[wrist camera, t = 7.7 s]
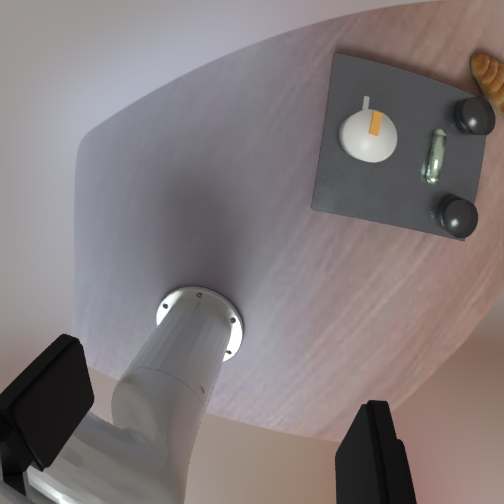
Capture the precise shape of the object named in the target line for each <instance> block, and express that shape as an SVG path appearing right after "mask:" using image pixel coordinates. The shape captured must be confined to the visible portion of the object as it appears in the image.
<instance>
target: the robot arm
mask: <svg viewBox="0 0 504 504" xmlns="http://www.w3.org/2000/svg"><path fill="white" fill-rule="evenodd" d="M200 293H201V294H200ZM156 325H157V328H156V329H155V331H154V332H153V333H152V335H151V336H150V338H149V339H148V340H147V342H146V343H145V345H144V346H143V347H142V349H141V350H140V352H139V353H138V354H137V356H136V357H135V359H134V360H133V361H132V363H131V364H130V366H129V367H128V369H127V370H126V371H125V373H124V374H123V376H122V377H121V379H120V380H119V382H118V383H117V385H116V387H115V389H114V392H113V396H112V402H111V403H112V404H111V408H112V418H113V424H114V425H112V424H110V423H109V422H106V421H105V420H103V419H101V418H100V417H99V416H97V415H95V414H94V413H93V412H91V411H90V408H91V407H92V405H93V403H94V394H93V390H92V386H91V382H90V377H89V373H88V369H87V364H86V359H85V355H84V350H83V346H82V344H80V341H79V339H78V338H75V337H72V336H70V335H67V334H62V335H60V336H59V337H58V338H57V339H56V340H55V341H54V342H53V343H52V344H51V345H50V346H48V348H46V349H45V350H44V351H43V352H42V353H41V354H40V355H39V356H38V357H37V358H36V359H35V360H34V361H33V362H32V363H31V364H30V365H29V366H28V367H27V368H26V369H25V370H24V371H23V372H22V373H21V374H20V375H19V376H18V377H17V378H16V379H15V380H14V381H13V382H12V383H11V384H10V385H9V386H8V387H7V388H6V389H5V390H4V391H3V392H2V393H1V394H0V504H184V501H185V495H186V485H187V477H188V469H189V464H190V459H191V455H192V451H193V447H194V444H195V440H196V437H197V434H198V431H199V428H200V425H201V423H202V419H203V417H204V414H205V411H206V408H207V406H208V403H209V400H210V397H211V394H212V391H213V388H214V386H215V383H216V380H217V377H218V374H219V371H220V368H221V366H222V363H223V362H224V361H226V360H228V359H229V358H231V357H232V356H233V355H234V354H235V353H236V352H237V351H238V349H239V347H240V345H241V342H242V339H243V324H242V320H241V317H240V315H239V314H238V312H237V310H236V309H235V307H234V306H233V305H232V304H231V303H230V302H229V301H228V300H227V299H226V298H225V297H223V296H221V295H220V294H218V293H217V292H214V291H212V290H210V289H207V288H202V287H195V286H189V287H182V288H179V289H176V290H174V291H172V292H171V293H169V294H168V295H167V296H166V297H165V298H164V299H163V300H162V302H161V303H160V305H159V307H158V309H157V314H156ZM335 471H336V501H337V504H417V502H416V497H415V492H414V487H413V482H412V478H411V473H410V469H409V464H408V460H407V455H406V452H405V447H404V444H403V442H402V441H401V440H400V439H397V437H396V433H395V429H394V425H393V421H392V417H391V413H390V409H389V405H388V402H387V401H377V400H369V401H368V402H367V404H362V405H361V407H360V409H359V411H358V413H357V415H356V417H355V419H354V421H353V423H352V425H351V426H350V428H349V430H348V432H347V434H346V436H345V438H344V439H343V441H342V443H341V445H340V446H339V448H338V450H337V452H336V456H335Z"/></svg>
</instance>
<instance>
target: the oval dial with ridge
mask: <svg viewBox="0 0 504 504" xmlns="http://www.w3.org/2000/svg"><path fill="white" fill-rule="evenodd" d="M339 141H340V144H341V146H342V148H343V149H344V151H345V152H346V153H347V154H348V155H350V156H351V157H353V158H356V159H360V160H363V161H367V162H380V161H383V160H385V159H386V158H388V157H389V156H390V155H391V154H392V153H393V151H394V149H395V147H396V144H397V132H396V128H395V126H394V124H393V122H392V121H391V120H390V118H389V117H388V116H386V115H385V114H384V113H382V112H380V111H377V110H372V109H367V110H362V111H360V112H358V113H356V114H353V115H351V116H349V117H348V118H347V119H345V120H344V122H343V123H342V124H341V127H340V129H339Z"/></svg>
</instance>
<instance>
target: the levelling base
mask: <svg viewBox="0 0 504 504" xmlns="http://www.w3.org/2000/svg"><path fill="white" fill-rule="evenodd" d="M367 109H372V110H377V111H380V112H382V113H384V114H385V115H386V116H388V117H389V118H390V120H391V121H392V122H393V124H394V126H395V128H396V132H397V144H396V147H395V149H394V151H393V153H392V154H391V155H390V156H389V157H388V158H386V159H385V160H383V161H380V162H367V161H363V160H360V159H356V158H353V157H351V156H350V155H348V154H347V153H346V152H345V151H344V149H343V148H342V146H341V144H340V141H339V129H340V127H341V124H342V123H343V122H344V120H345V119H347V118H348V117H349V116H351V115H353V114H356V113H358V112H360V111H362V110H367ZM494 126H495V113H494V110H493V108H492V106H491V105H490V103H489V102H488V101H487V100H486V99H484V98H482V97H479V96H475V95H472V94H470V93H468V92H465V91H463V90H460V89H458V88H455V87H453V86H450V85H448V84H445V83H442V82H440V81H437V80H434V79H431V78H428V77H425V76H422V75H419V74H416V73H413V72H410V71H407V70H403V69H400V68H397V67H393V66H390V65H386V64H382V63H378V62H374V61H370V60H366V59H362V58H358V57H353V56H349V55H344V54H339V53H334V56H333V60H332V69H331V77H330V85H329V93H328V101H327V108H326V115H325V122H324V129H323V136H322V143H321V149H320V156H319V162H318V168H317V175H316V181H315V187H314V193H313V198H312V204H311V208H312V210H316V211H321V212H327V213H332V214H338V215H343V216H348V217H354V218H359V219H364V220H369V221H374V222H379V223H384V224H389V225H393V226H398V227H403V228H408V229H412V230H417V231H421V232H426V233H430V234H435V235H439V236H443V237H448V238H452V239H456V240H460V241H465V238H466V237H468V236H469V235H471V234H472V233H473V231H474V230H475V228H476V226H477V222H478V213H477V209H476V207H475V206H474V202H475V198H476V193H477V188H478V183H479V178H480V172H481V167H482V161H483V154H484V148H485V140H486V135H487V134H489V133H491V132H492V130H493V129H494Z"/></svg>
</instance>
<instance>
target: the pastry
mask: <svg viewBox="0 0 504 504" xmlns="http://www.w3.org/2000/svg"><path fill="white" fill-rule="evenodd" d="M470 68H471V72H472V74H473V76H474V77H475V79H476V81H477V82H478V85H479V86H480V88H481V91H482V93H483V95H484V96H485V97H486V98H487V99H488V101H489V102H490V103H491V104H492V106H493V107H494V108H495V109H496V111H497V112H498V113H499V114H500V115H501V116H502V117H503V118H504V64H503V63H501V62H499V61H498V60H496V59H494V58H492V57H491V56H489V55H487V54H484V53H482V54H474V55H473V56H472V58H471V61H470Z"/></svg>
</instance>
